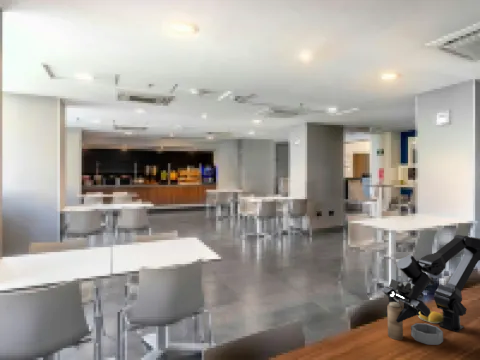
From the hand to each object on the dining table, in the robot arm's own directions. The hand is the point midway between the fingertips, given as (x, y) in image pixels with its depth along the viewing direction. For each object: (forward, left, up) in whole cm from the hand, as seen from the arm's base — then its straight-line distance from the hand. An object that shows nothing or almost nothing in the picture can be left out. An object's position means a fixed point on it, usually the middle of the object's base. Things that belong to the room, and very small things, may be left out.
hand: (391, 318), depth 121 cm
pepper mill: (-1, +1, -7) cm, 7 cm away
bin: (-8, +9, -7) cm, 14 cm away
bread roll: (-27, +2, -7) cm, 28 cm away
